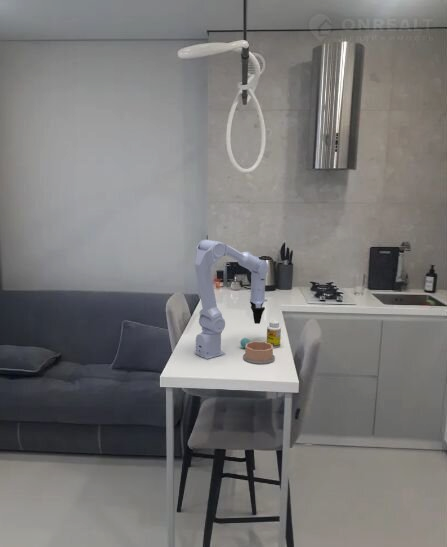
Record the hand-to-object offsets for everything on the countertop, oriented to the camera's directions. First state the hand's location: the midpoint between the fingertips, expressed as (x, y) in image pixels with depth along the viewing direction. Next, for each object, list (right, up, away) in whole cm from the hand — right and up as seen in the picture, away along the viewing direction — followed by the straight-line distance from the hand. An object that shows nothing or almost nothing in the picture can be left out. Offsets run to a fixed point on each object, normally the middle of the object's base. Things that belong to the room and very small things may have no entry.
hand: (256, 320), depth 190 cm
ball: (-5, -9, -5) cm, 11 cm away
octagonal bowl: (0, -13, -16) cm, 21 cm away
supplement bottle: (+7, -10, -1) cm, 12 cm away
